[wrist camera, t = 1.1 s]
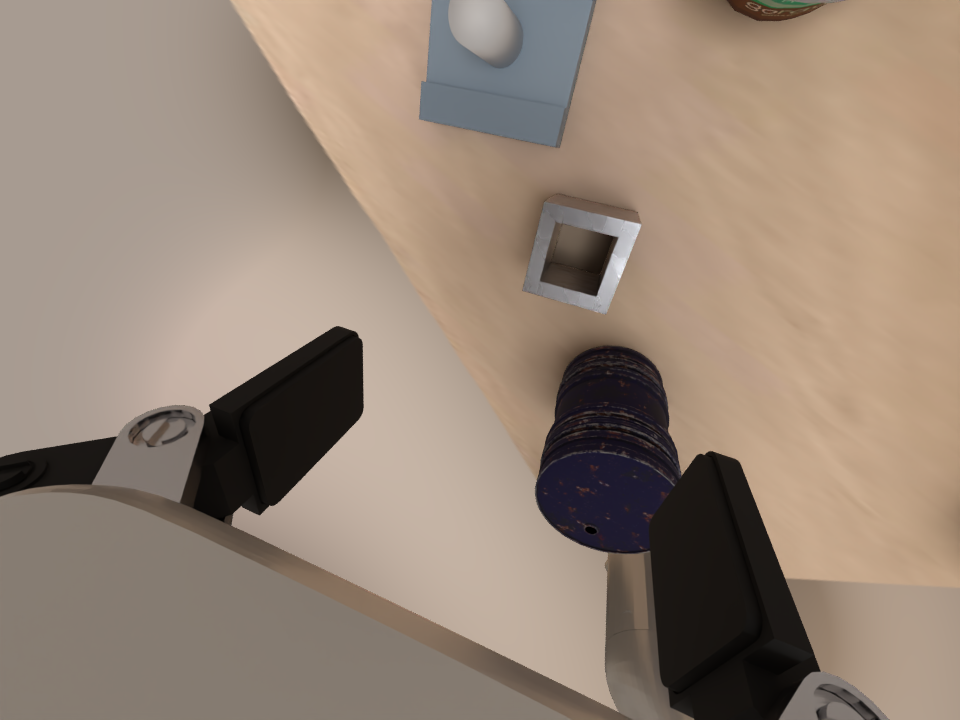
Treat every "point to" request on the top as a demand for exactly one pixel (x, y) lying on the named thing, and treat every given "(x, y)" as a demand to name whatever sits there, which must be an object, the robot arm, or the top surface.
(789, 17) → the food container
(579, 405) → the dark blue barrel
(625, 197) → the top surface
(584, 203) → the grey hollow block
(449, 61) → the shaft block
